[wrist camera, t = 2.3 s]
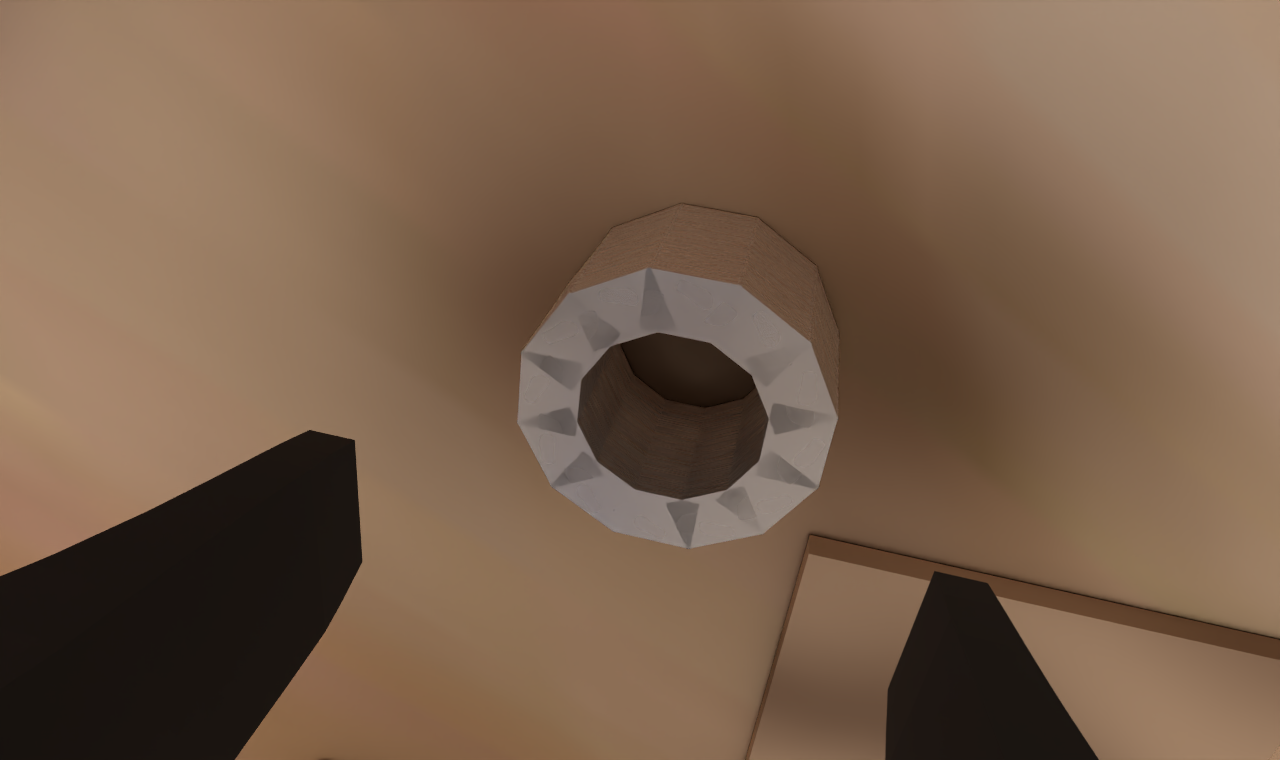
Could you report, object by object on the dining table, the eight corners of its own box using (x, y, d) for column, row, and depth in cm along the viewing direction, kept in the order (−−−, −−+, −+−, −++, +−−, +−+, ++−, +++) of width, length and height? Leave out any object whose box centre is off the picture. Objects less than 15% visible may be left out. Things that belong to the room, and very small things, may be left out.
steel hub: (801, 472, 17) (794, 573, 15) (558, 420, 18) (511, 509, 15) (864, 236, 15) (869, 309, 12) (579, 183, 15) (527, 243, 13)
